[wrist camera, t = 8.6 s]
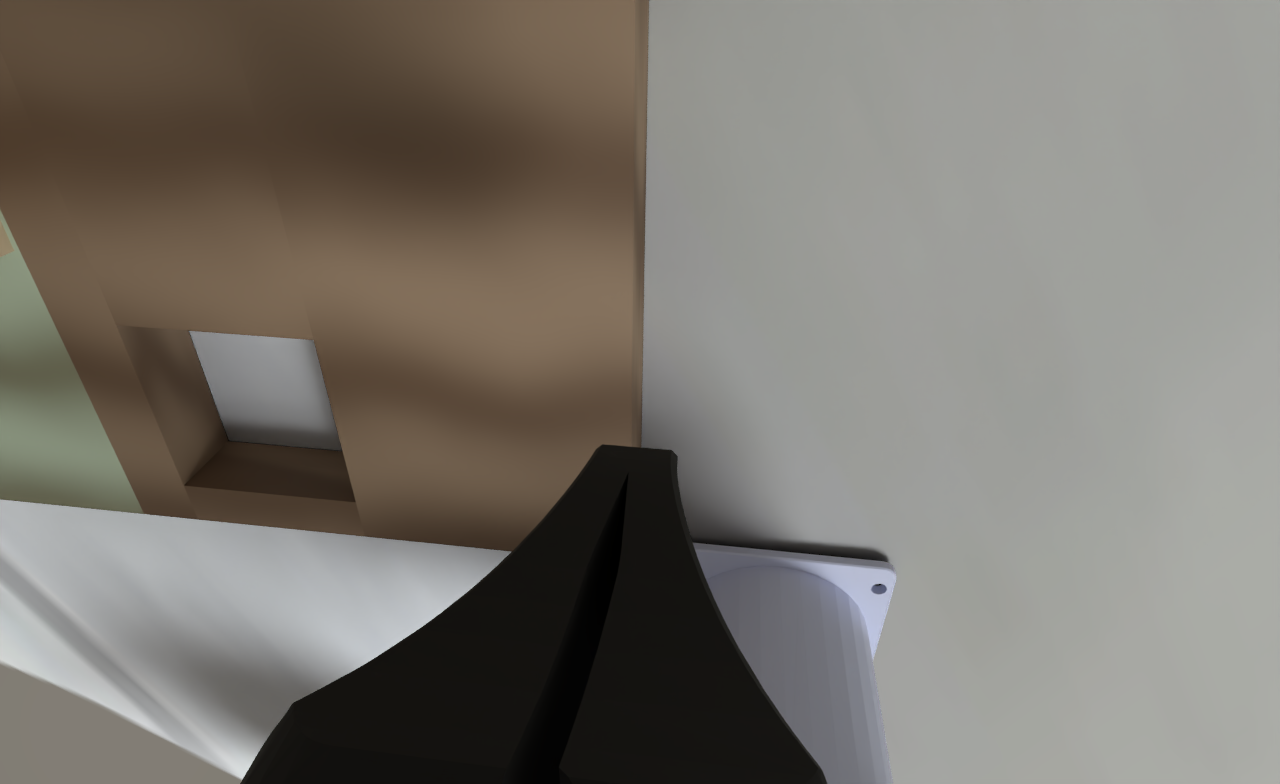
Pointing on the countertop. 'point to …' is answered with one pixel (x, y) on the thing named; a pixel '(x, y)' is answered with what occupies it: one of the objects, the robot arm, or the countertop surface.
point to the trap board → (323, 253)
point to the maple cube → (4, 242)
